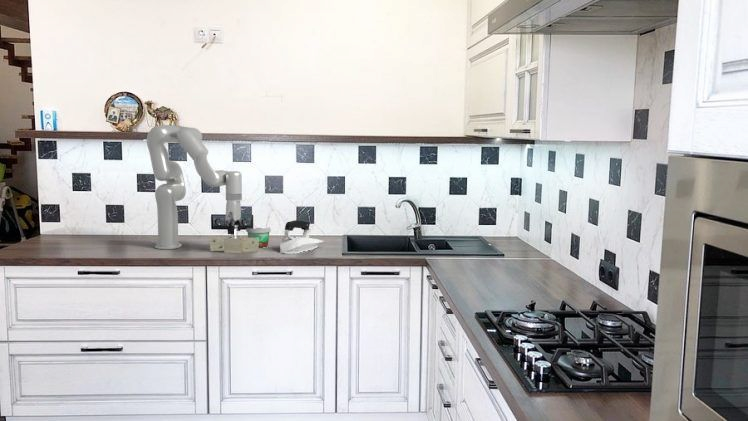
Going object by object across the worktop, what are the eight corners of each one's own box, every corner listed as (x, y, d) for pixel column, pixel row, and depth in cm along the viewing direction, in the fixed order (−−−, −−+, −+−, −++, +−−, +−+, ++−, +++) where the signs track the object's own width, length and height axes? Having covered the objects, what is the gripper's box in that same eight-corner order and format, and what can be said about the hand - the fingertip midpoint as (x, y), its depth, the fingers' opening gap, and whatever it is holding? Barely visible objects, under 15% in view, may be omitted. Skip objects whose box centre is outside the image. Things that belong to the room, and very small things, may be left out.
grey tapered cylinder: (229, 252, 312) (228, 225, 310) (231, 250, 316) (231, 224, 314) (237, 252, 312) (236, 226, 310) (239, 250, 315) (239, 224, 314)
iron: (323, 248, 327) (324, 218, 325) (291, 255, 307) (291, 224, 305) (307, 245, 333) (307, 216, 331) (274, 252, 313) (274, 222, 311)
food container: (247, 249, 320) (246, 229, 319) (246, 246, 326) (246, 227, 325) (272, 248, 324) (272, 228, 322) (270, 246, 329) (270, 226, 328)
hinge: (207, 252, 311) (207, 237, 310) (213, 249, 318) (213, 235, 318) (256, 253, 309) (256, 239, 308) (260, 250, 316) (260, 236, 316)
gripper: (231, 195, 319) (232, 229, 321) (220, 198, 302) (220, 235, 304) (246, 195, 319) (246, 229, 321) (236, 199, 301) (236, 235, 304)
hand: (234, 232), depth 313 cm, fingers open, 9 cm apart
